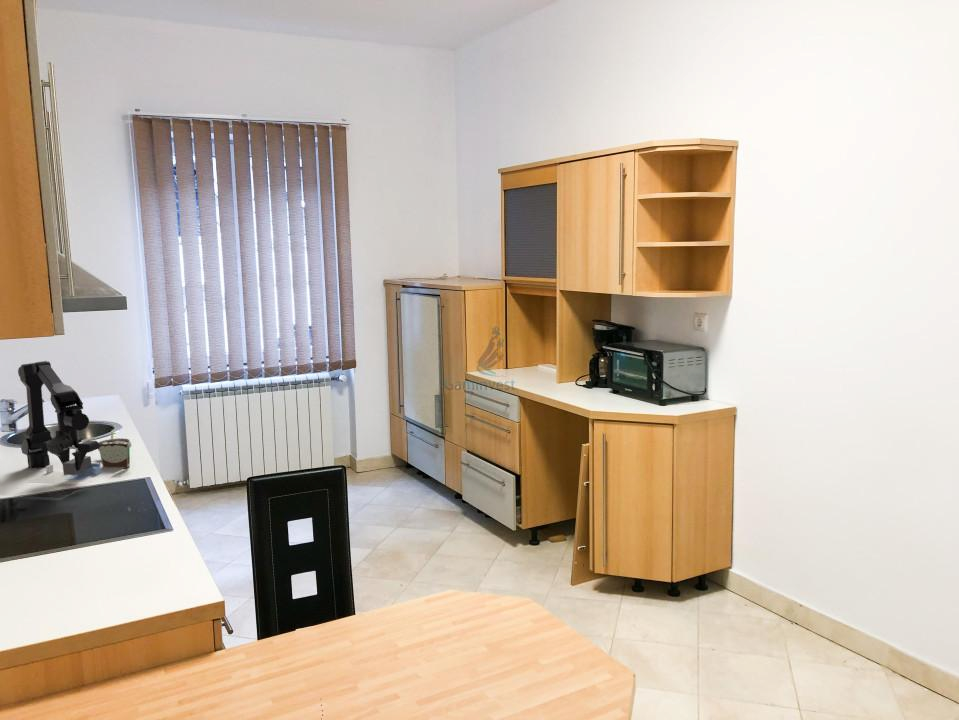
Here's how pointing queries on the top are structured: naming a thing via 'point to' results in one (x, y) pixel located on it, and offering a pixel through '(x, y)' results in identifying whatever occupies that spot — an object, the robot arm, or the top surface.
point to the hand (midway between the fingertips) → (72, 470)
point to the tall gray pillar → (70, 466)
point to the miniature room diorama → (67, 479)
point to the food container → (115, 452)
